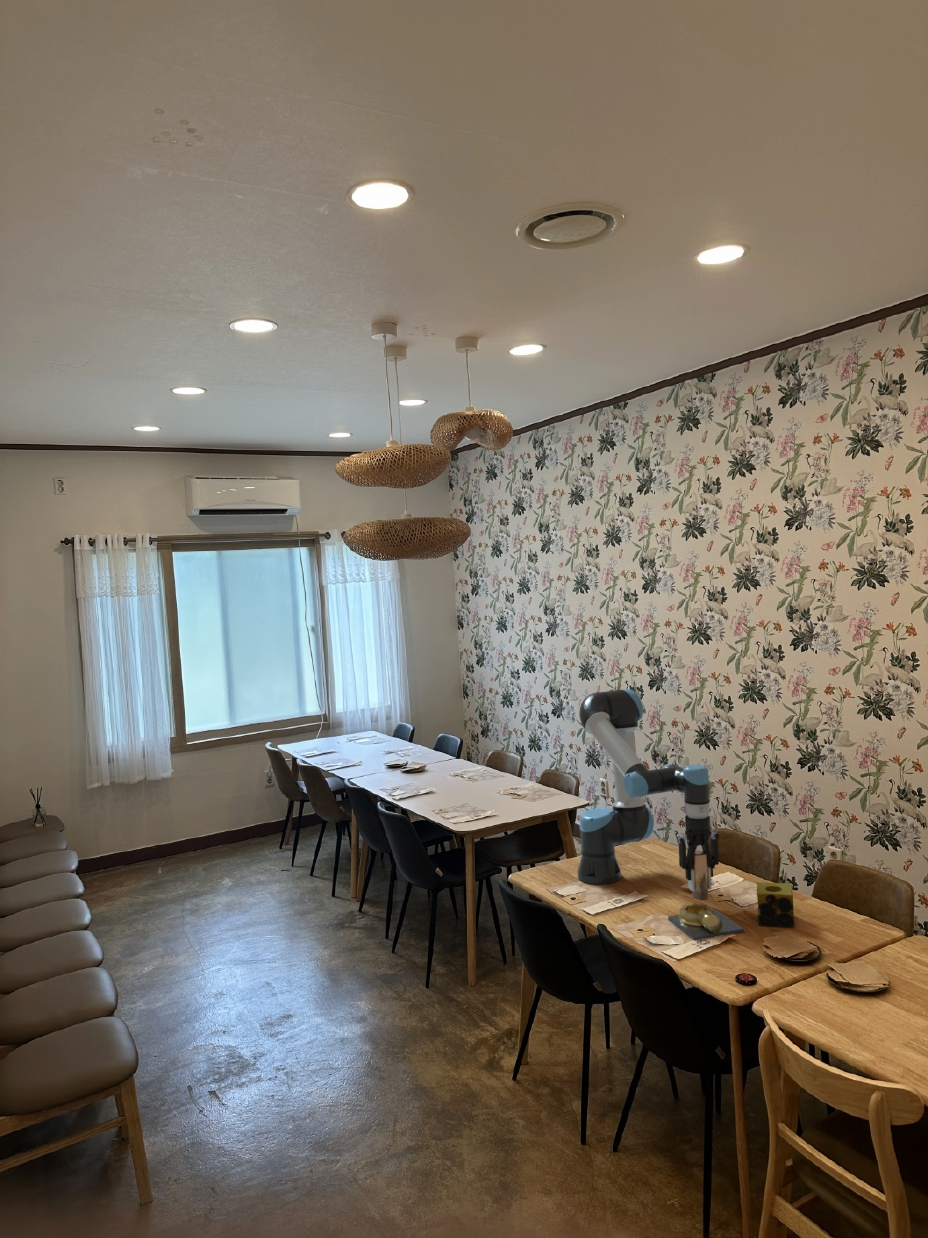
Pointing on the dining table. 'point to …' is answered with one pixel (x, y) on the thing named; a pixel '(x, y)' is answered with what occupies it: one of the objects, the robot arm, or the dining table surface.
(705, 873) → the pipe stub
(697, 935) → the fitting base
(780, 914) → the olive cube piece
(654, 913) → the dining table surface
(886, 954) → the dining table surface
